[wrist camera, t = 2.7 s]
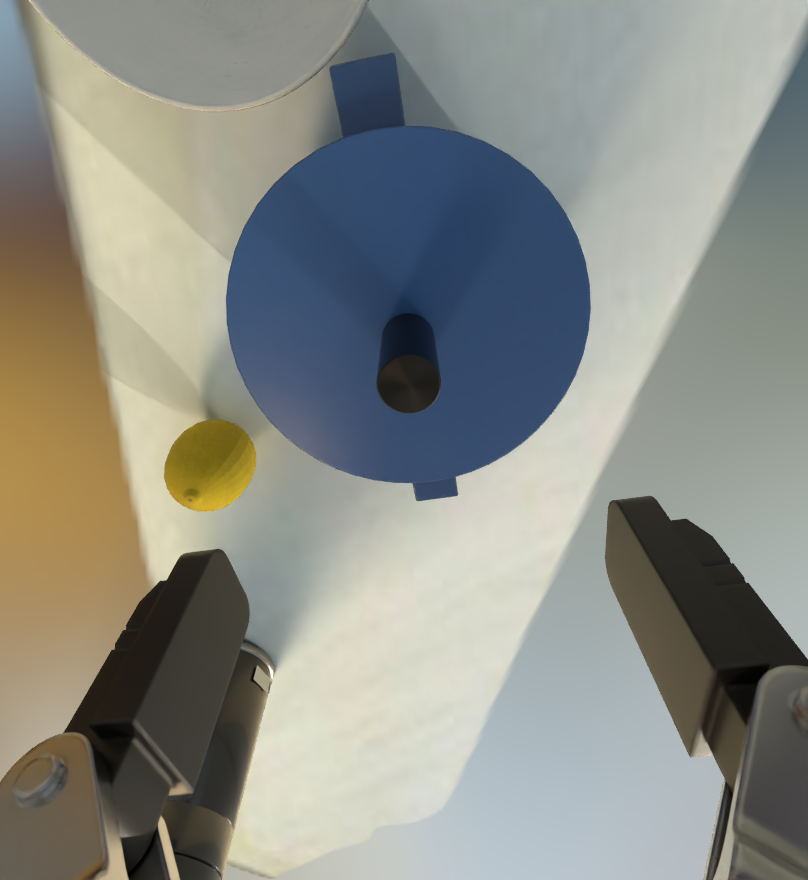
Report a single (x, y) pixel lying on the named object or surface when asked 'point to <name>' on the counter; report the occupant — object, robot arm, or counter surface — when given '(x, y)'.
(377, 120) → the pot
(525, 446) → the counter surface
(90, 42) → the chinaware
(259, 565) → the counter surface
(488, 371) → the lid
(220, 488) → the lemon
